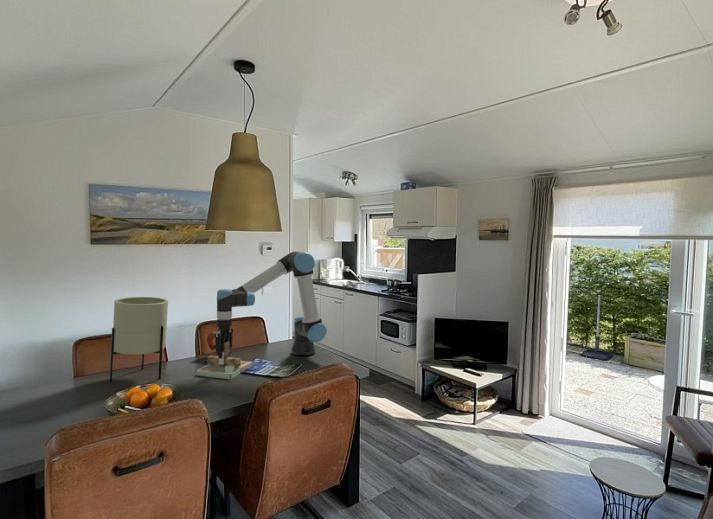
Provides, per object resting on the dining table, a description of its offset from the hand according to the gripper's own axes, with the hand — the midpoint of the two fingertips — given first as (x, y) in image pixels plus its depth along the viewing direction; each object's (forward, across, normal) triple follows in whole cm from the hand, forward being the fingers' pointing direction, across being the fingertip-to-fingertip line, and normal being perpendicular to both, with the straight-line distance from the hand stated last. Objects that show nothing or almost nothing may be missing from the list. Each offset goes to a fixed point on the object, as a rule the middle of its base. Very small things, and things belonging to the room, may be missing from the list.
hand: (223, 362), depth 208 cm
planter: (+5, +20, -34) cm, 40 cm away
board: (+5, -6, 0) cm, 8 cm away
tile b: (+2, +5, -6) cm, 8 cm away
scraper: (+1, 0, 0) cm, 1 cm away
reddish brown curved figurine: (+5, -24, -19) cm, 31 cm away
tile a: (+2, +2, +5) cm, 6 cm away
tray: (+5, +4, 0) cm, 6 cm away
